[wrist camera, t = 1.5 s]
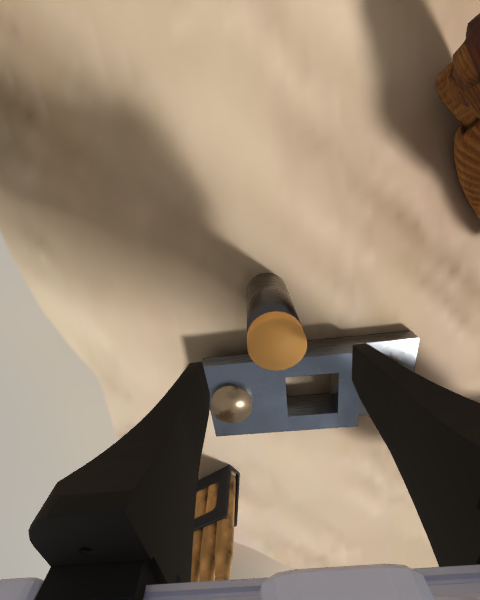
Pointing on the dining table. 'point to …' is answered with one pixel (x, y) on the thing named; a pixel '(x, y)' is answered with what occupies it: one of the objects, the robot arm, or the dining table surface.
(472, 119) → the wooden carving
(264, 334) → the pin
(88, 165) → the dining table surface
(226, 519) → the ammunition clip
